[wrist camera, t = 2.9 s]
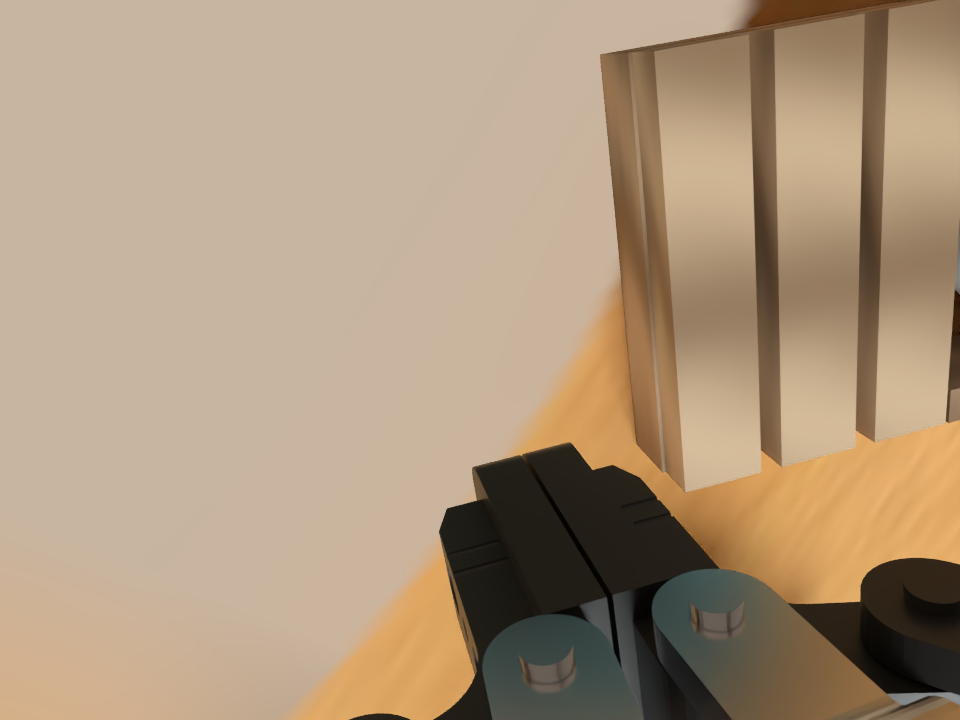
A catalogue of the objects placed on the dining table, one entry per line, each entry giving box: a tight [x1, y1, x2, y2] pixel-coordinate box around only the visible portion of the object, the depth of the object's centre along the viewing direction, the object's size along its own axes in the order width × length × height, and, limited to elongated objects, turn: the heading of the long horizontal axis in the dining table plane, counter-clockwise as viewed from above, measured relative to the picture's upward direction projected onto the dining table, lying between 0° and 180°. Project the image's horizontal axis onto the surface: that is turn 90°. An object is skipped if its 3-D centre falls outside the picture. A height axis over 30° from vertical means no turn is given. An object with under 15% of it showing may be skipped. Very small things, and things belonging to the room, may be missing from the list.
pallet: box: [600, 0, 960, 493], centre depth 21 cm, size 11×18×3 cm, turn 99°
